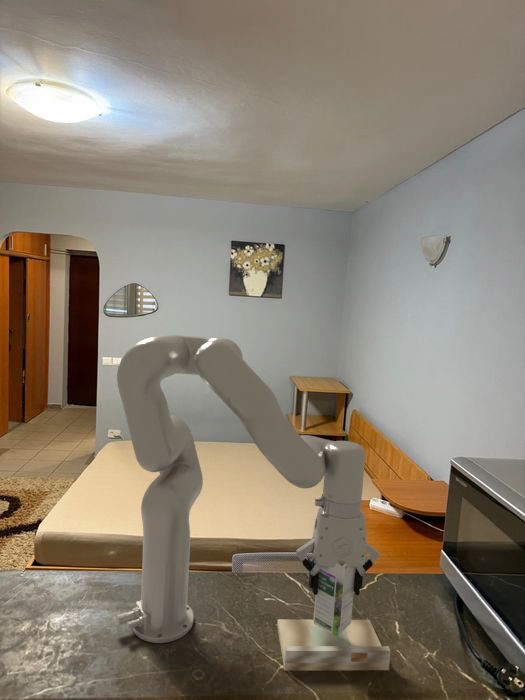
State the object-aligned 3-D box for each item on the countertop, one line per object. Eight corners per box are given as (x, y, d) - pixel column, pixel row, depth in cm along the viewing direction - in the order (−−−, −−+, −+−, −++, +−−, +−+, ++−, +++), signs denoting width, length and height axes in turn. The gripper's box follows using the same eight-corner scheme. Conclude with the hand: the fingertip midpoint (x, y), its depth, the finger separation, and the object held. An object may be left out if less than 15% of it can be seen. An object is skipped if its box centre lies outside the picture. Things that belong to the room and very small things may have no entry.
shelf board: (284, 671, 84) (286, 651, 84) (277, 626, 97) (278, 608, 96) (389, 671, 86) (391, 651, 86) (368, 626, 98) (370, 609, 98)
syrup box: (312, 623, 91) (316, 554, 89) (328, 610, 95) (333, 543, 94) (336, 638, 87) (341, 566, 86) (352, 623, 91) (357, 554, 90)
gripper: (300, 513, 84) (294, 602, 86) (391, 515, 86) (383, 603, 87) (294, 496, 92) (288, 579, 93) (378, 498, 93) (371, 580, 95)
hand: (334, 590), depth 90 cm, fingers closed on syrup box, 7 cm apart
